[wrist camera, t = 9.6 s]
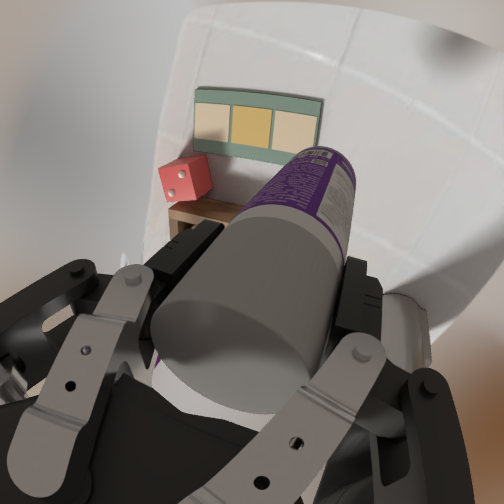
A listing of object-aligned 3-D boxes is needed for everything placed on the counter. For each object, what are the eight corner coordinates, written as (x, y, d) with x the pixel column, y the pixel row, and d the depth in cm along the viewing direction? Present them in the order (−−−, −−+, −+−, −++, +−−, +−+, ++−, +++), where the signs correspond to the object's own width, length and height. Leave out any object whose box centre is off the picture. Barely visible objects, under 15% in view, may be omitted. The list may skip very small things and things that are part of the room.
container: (275, 193, 21) (141, 361, 9) (302, 133, 18) (155, 256, 6) (335, 225, 20) (270, 431, 8) (369, 168, 17) (357, 365, 6)
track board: (321, 102, 29) (320, 102, 28) (311, 170, 33) (310, 171, 33) (196, 89, 32) (194, 89, 32) (194, 149, 37) (192, 150, 36)
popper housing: (249, 207, 39) (234, 224, 35) (245, 264, 44) (231, 284, 40) (188, 194, 41) (168, 208, 37) (190, 248, 46) (172, 266, 42)
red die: (206, 154, 37) (185, 165, 33) (213, 187, 39) (194, 201, 35) (177, 158, 39) (155, 169, 35) (185, 189, 41) (165, 203, 37)
